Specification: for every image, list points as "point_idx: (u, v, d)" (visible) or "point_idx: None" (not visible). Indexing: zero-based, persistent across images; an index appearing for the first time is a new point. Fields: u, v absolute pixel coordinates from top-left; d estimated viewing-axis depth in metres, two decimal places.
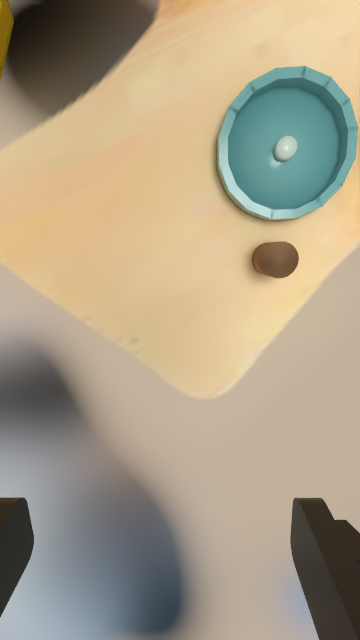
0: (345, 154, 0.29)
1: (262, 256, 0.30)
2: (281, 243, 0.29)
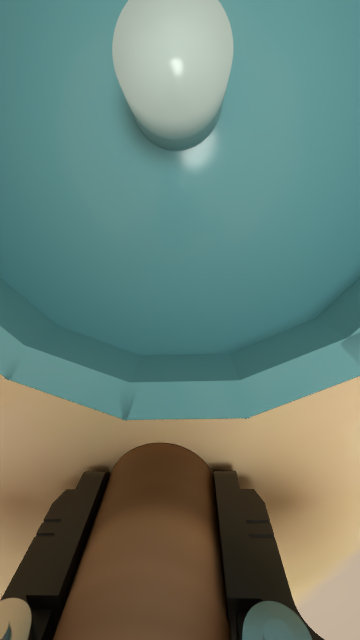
0: None
1: None
2: None
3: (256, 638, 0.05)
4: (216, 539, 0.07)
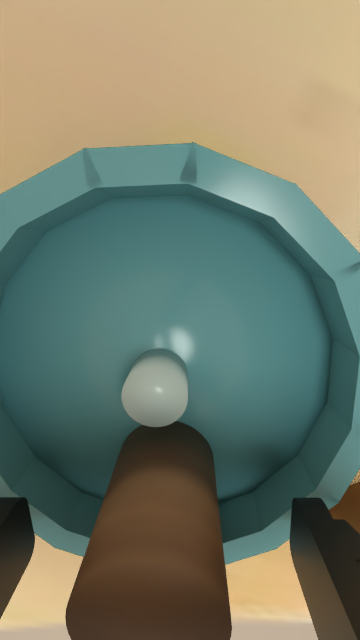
0: (265, 520, 0.10)
1: None
2: (145, 568, 0.06)
3: None
4: (213, 495, 0.09)
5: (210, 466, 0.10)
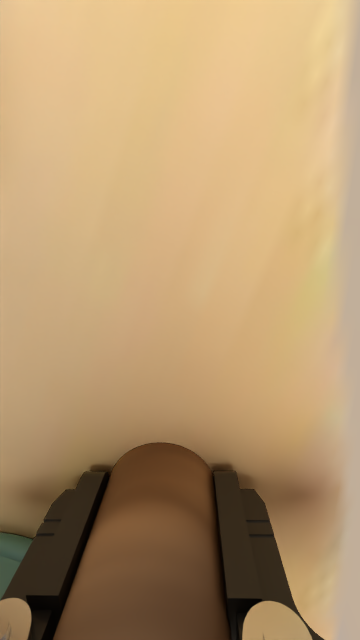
0: None
1: None
2: None
3: (256, 638, 0.05)
4: None
5: None
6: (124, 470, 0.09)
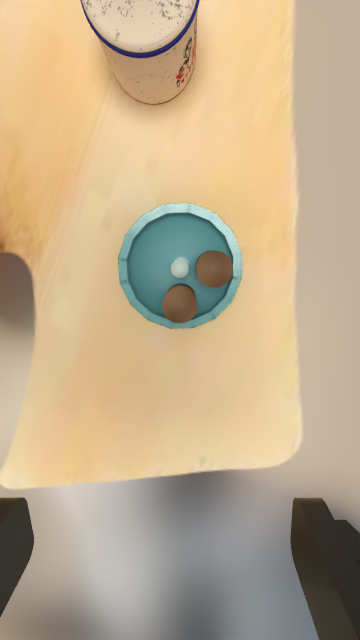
0: (223, 234, 0.32)
1: (210, 286, 0.30)
2: (198, 269, 0.29)
3: None
4: (205, 252, 0.31)
5: (204, 252, 0.32)
6: (171, 287, 0.34)
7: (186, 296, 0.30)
